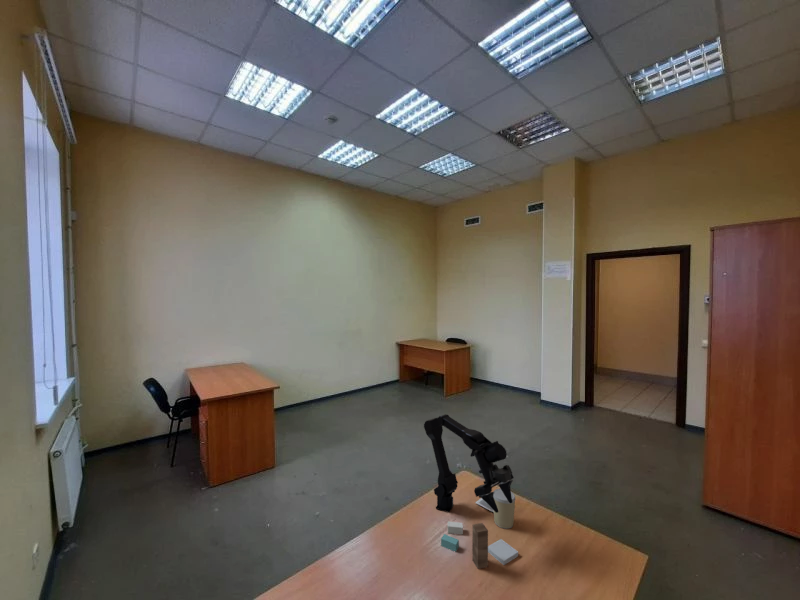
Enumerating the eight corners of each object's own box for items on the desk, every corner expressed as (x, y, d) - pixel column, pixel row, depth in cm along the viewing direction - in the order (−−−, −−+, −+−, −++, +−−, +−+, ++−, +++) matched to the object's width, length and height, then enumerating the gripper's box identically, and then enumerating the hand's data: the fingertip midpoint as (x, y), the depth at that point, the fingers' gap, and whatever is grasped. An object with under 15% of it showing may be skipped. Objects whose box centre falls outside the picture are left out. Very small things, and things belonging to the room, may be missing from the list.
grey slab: (486, 552, 124) (486, 547, 124) (501, 543, 129) (500, 538, 129) (503, 566, 118) (503, 561, 118) (518, 557, 122) (518, 551, 122)
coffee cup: (512, 516, 144) (512, 488, 145) (517, 531, 135) (518, 501, 135) (490, 514, 145) (490, 487, 145) (494, 529, 136) (494, 499, 136)
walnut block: (472, 560, 120) (472, 524, 120) (482, 558, 121) (482, 522, 121) (477, 569, 116) (477, 532, 116) (487, 566, 117) (487, 530, 117)
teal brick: (441, 546, 127) (441, 538, 127) (444, 541, 129) (444, 533, 130) (455, 552, 124) (455, 544, 124) (458, 547, 126) (458, 539, 126)
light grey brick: (447, 533, 134) (447, 526, 134) (447, 528, 137) (447, 521, 137) (462, 535, 133) (462, 527, 133) (462, 530, 136) (462, 522, 136)
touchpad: (504, 520, 142) (504, 515, 142) (475, 505, 153) (475, 500, 153) (513, 512, 148) (513, 507, 148) (484, 498, 159) (484, 493, 159)
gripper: (486, 468, 122) (506, 515, 116) (514, 453, 134) (533, 495, 127) (466, 474, 129) (483, 518, 123) (494, 459, 141) (512, 499, 135)
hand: (504, 507), depth 127 cm, fingers open, 9 cm apart
